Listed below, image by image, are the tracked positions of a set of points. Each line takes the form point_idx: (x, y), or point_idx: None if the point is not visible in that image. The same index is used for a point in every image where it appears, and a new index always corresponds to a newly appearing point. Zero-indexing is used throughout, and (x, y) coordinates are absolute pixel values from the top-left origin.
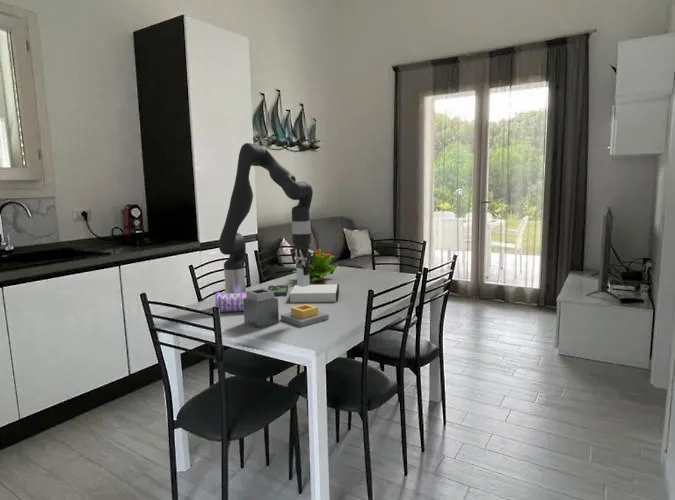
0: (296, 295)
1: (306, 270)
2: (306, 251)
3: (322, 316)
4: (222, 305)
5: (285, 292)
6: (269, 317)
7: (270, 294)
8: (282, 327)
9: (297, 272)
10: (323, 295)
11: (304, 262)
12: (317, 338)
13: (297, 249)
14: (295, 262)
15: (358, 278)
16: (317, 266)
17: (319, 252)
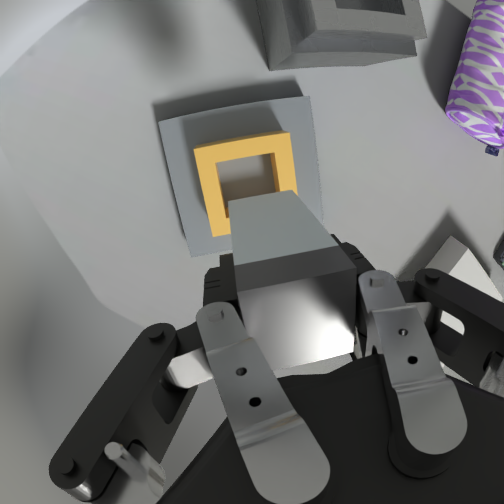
0: (450, 262)
1: (204, 292)
2: (159, 499)
3: (183, 228)
4: (482, 2)
5: (500, 259)
6: (267, 23)
7: (307, 8)
8: (202, 57)
9: (308, 227)
10: None
11: (205, 337)
12: (34, 129)
13: (419, 458)
14: (412, 286)
15: None
16: None
17: None
